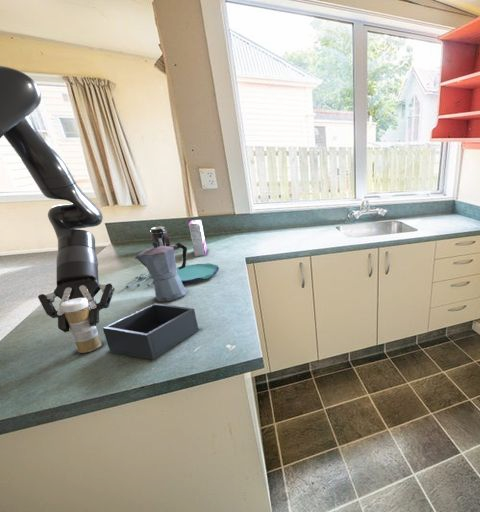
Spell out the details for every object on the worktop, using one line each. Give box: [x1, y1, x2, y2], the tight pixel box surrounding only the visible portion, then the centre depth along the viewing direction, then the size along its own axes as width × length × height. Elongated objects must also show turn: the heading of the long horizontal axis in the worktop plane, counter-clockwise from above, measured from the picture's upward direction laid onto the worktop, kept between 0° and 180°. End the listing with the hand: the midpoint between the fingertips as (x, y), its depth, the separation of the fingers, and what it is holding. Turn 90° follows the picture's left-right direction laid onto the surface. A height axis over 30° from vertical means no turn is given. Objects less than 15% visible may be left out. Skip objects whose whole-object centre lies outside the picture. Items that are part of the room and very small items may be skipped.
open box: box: [102, 302, 199, 360], centre depth 78 cm, size 14×14×7 cm
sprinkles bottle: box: [61, 298, 103, 354], centre depth 73 cm, size 5×5×13 cm
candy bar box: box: [187, 219, 208, 257], centre depth 149 cm, size 11×5×16 cm, turn 26°
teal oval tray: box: [125, 262, 220, 289], centre depth 120 cm, size 20×30×2 cm, turn 109°
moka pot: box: [134, 242, 188, 302], centre depth 102 cm, size 10×15×20 cm, turn 155°
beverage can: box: [150, 226, 171, 247], centre depth 155 cm, size 7×7×12 cm
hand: (79, 327), depth 72 cm, fingers closed on sprinkles bottle, 4 cm apart
